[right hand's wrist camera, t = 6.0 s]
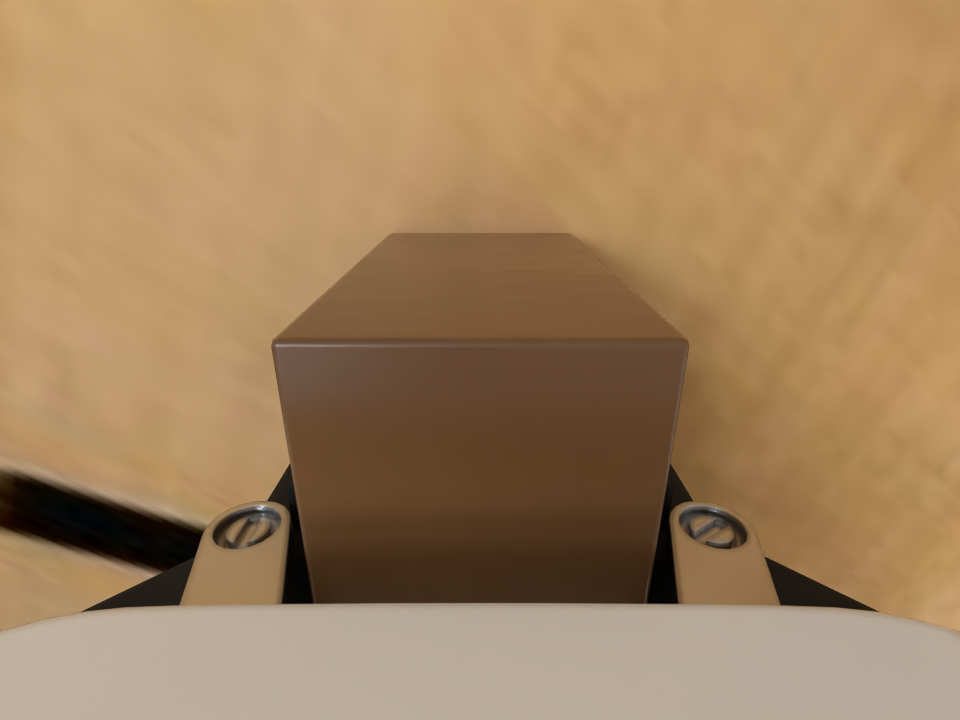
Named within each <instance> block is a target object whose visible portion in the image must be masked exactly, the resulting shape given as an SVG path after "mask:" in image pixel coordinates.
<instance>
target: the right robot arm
mask: <svg viewBox="0 0 960 720" xmlns="http://www.w3.org/2000/svg"><path fill="white" fill-rule="evenodd" d="M0 720H960V631H956V630H953V629H949V628H946V627H942V626H938V625H935V624H931V623H928V622H924V621H921V620H917V619H912V618H907V617H902V616H896V615H891V614H885V613H880V612H878V611H876V610H874V609H872V608H870V607H868V606H866V605H864V604H862V603H860V602H858V601H856V600H854V599H851V598H849V597H847V596H845V595H843V594H841V593H839V592H837V591H835V590H833V589H831V588H829V587H827V586H825V585H822V584H820V583H818V582H816V581H814V580H812V579H810V578H808V577H806V576H804V575H802V574H800V573H798V572H795V571H793V570H791V569H789V568H787V567H785V566H783V565H781V564H779V563H777V562H775V561H773V560H771V559H769V558H766V557H764V554H763V551H762V548H761V545H760V542H759V539H758V536H757V533H756V531H755V530H754V528H753V526H752V525H751V524H750V523H749V522H748V521H747V520H746V519H745V518H744V517H743V516H741V515H740V514H738V513H736V512H735V511H733V510H731V509H729V508H726V507H724V506H721V505H718V504H714V503H710V502H703V501H693V500H692V498H691V497H690V495H689V493H688V492H687V490H686V488H685V487H684V485H683V484H682V482H681V480H680V479H679V477H678V475H677V474H676V472H675V470H674V469H673V467H672V465H671V464H670V467H669V473H668V479H667V485H666V491H665V497H664V503H663V510H662V516H661V522H660V528H659V534H658V540H657V547H656V553H655V559H654V565H653V571H652V577H651V583H650V590H649V596H648V602H647V604H596V603H360V604H313V600H312V593H311V587H310V581H309V575H308V569H307V563H306V556H305V550H304V544H303V538H302V532H301V526H300V519H299V513H298V507H297V501H296V495H295V489H294V483H293V476H292V470H291V464H290V465H289V466H288V468H287V469H286V471H285V473H284V474H283V476H282V478H281V479H280V481H279V483H278V484H277V486H276V487H275V489H274V491H273V492H272V494H271V496H270V497H269V499H268V501H257V502H250V503H246V504H242V505H239V506H236V507H234V508H231V509H229V510H227V511H225V512H224V513H222V514H220V515H219V516H217V517H216V518H215V519H214V520H213V521H212V522H211V523H210V524H209V525H208V526H207V528H206V530H205V531H204V533H203V536H202V539H201V542H200V545H199V548H198V551H197V554H196V557H194V558H192V559H190V560H188V561H186V562H183V563H181V564H179V565H177V566H175V567H173V568H171V569H169V570H167V571H165V572H163V573H161V574H159V575H157V576H154V577H152V578H150V579H148V580H146V581H144V582H142V583H140V584H138V585H136V586H134V587H132V588H130V589H128V590H125V591H123V592H121V593H119V594H117V595H115V596H113V597H111V598H109V599H107V600H105V601H103V602H101V603H98V604H96V605H94V606H92V607H90V608H88V609H86V610H84V611H82V612H80V613H75V614H69V615H64V616H58V617H53V618H48V619H43V620H39V621H36V622H32V623H29V624H25V625H22V626H18V627H14V628H11V629H7V630H4V631H0Z"/></svg>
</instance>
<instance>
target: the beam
mask: <svg viewBox="0 0 960 720" xmlns="http://www.w3.org/2000/svg"><path fill="white" fill-rule="evenodd" d="M271 347H272V353H273V359H274V365H275V372H276V378H277V384H278V390H279V396H280V402H281V409H282V415H283V421H284V427H285V433H286V439H287V446H288V452H289V458H290V464H291V470H292V476H293V483H294V489H295V495H296V501H297V507H298V513H299V519H300V526H301V532H302V538H303V544H304V550H305V556H306V563H307V569H308V575H309V581H310V587H311V593H312V600H313V604H360V603H596V604H647V602H648V596H649V590H650V583H651V577H652V571H653V565H654V559H655V553H656V547H657V540H658V534H659V528H660V522H661V516H662V510H663V503H664V497H665V491H666V485H667V479H668V473H669V467H670V460H671V454H672V448H673V442H674V436H675V430H676V424H677V417H678V411H679V405H680V399H681V393H682V387H683V381H684V374H685V368H686V362H687V356H688V350H689V344H688V340H687V339H686V338H685V337H684V336H683V335H682V334H680V333H679V332H678V331H677V330H676V329H675V328H674V327H673V326H672V325H670V324H669V323H668V322H667V321H666V320H665V319H664V318H663V317H662V316H660V315H659V314H658V313H657V312H656V311H655V310H654V309H653V308H652V307H651V306H649V305H648V304H647V303H646V302H645V301H644V300H643V299H642V298H641V297H639V296H638V295H637V294H636V293H635V292H634V291H633V290H632V289H631V288H629V287H628V286H627V285H626V284H625V283H624V282H623V281H622V280H621V279H620V278H618V277H617V276H616V275H615V274H614V273H613V272H612V271H611V270H610V269H608V268H607V267H606V266H605V265H604V264H603V263H602V262H601V261H600V260H598V259H597V258H596V257H595V256H594V255H593V254H592V253H591V252H590V251H588V250H587V249H586V248H585V247H584V246H583V245H582V244H581V243H580V242H579V241H577V240H576V239H575V238H574V237H573V236H572V235H570V234H390V235H389V236H387V237H386V238H385V239H384V240H383V241H382V242H381V243H380V244H379V245H377V246H376V247H375V248H374V249H373V250H372V251H371V252H370V253H369V254H367V255H366V256H365V257H364V258H363V259H362V260H361V261H360V262H359V263H358V264H356V265H355V266H354V267H353V268H352V269H351V270H350V271H349V272H348V273H346V274H345V275H344V276H343V277H342V278H341V279H340V280H339V281H338V282H336V283H335V284H334V285H333V286H332V287H331V288H330V289H329V290H328V291H327V292H325V293H324V294H323V295H322V296H321V297H320V298H319V299H318V300H317V301H315V302H314V303H313V304H312V305H311V306H310V307H309V308H308V309H307V310H305V311H304V312H303V313H302V314H301V315H300V316H299V317H298V318H297V319H295V320H294V321H293V322H292V323H291V324H290V325H289V326H288V327H287V328H286V329H284V330H283V331H282V332H281V333H280V334H279V335H278V336H277V337H276V338H274V339H273V342H272V345H271Z"/></svg>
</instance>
